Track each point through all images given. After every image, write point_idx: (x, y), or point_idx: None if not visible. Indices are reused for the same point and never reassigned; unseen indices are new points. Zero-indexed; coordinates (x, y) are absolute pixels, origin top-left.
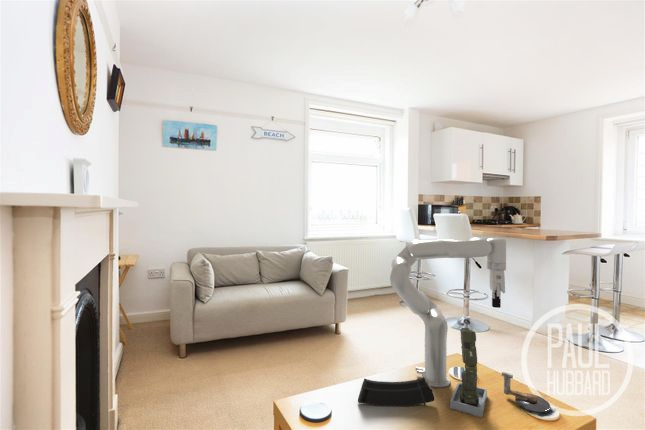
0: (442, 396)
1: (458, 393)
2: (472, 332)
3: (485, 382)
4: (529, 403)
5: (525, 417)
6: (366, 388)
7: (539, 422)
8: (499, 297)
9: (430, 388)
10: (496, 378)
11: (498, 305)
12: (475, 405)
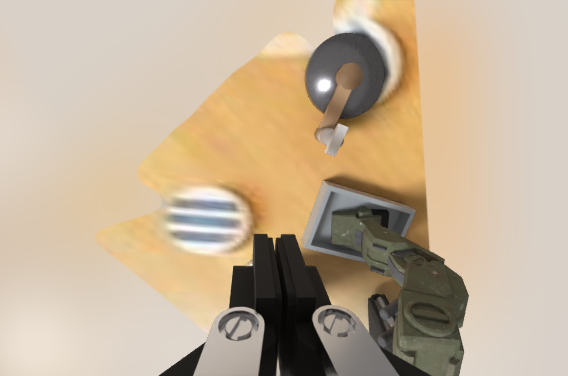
0: (337, 271)
1: (326, 241)
2: (459, 345)
3: (248, 170)
4: (357, 89)
5: (397, 114)
6: None
7: (412, 88)
8: (365, 342)
9: (392, 318)
10: (215, 134)
11: (314, 268)
12: (385, 217)
